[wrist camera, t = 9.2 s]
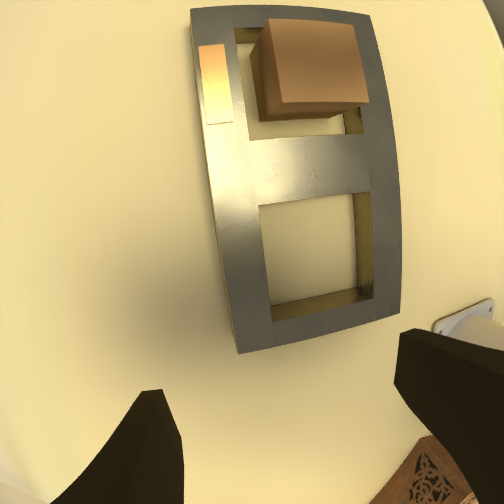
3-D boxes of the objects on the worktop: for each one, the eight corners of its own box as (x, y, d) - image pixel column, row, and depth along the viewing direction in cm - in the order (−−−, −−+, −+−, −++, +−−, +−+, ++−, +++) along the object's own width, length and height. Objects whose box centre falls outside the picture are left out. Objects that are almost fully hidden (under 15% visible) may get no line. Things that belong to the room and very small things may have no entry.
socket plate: (383, 301, 19) (401, 314, 17) (233, 336, 18) (238, 356, 16) (354, 27, 15) (371, 14, 13) (190, 25, 13) (189, 7, 11)
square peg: (328, 118, 16) (369, 102, 12) (259, 122, 15) (282, 102, 11) (317, 55, 15) (352, 24, 11) (249, 55, 14) (268, 18, 10)
